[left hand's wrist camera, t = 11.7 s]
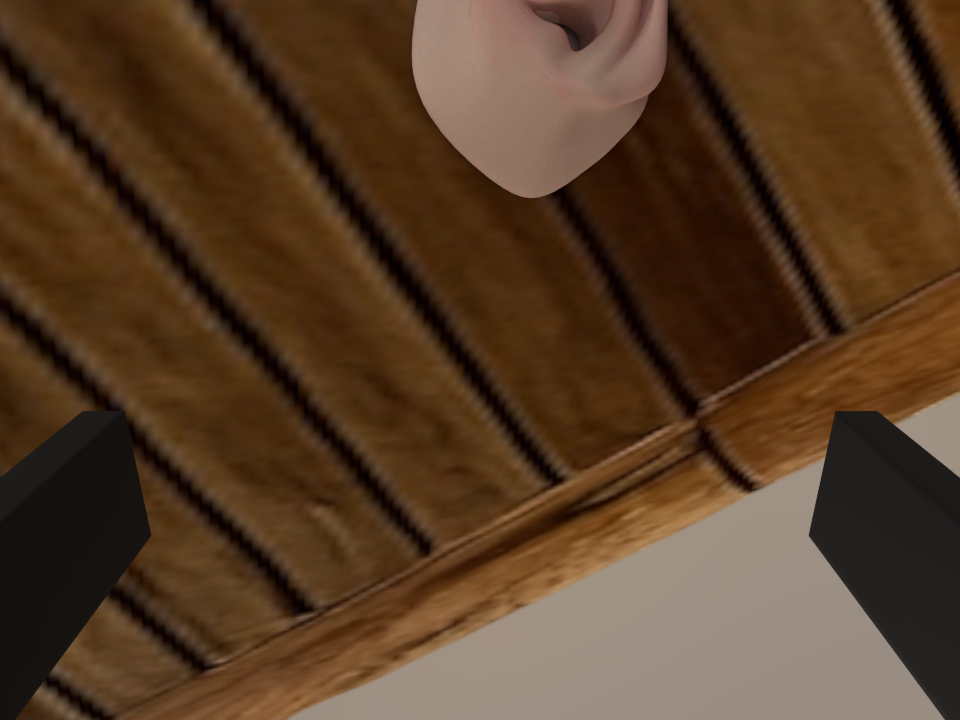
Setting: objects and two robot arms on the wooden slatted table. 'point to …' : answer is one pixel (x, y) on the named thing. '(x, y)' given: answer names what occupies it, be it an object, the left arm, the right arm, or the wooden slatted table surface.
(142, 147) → the wooden slatted table surface
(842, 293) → the wooden slatted table surface
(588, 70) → the anatomical model
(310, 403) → the wooden slatted table surface
